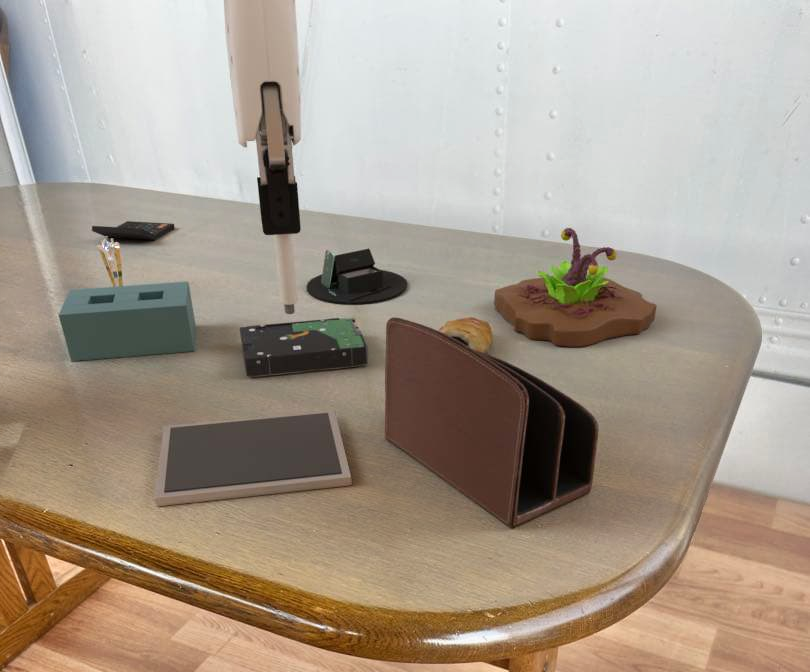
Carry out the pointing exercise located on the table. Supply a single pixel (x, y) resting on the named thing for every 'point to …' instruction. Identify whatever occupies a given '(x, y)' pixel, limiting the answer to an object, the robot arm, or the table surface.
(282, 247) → the stylus
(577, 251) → the plant
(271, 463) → the tablet
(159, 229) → the calculator
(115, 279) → the ring
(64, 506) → the table surface
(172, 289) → the dock
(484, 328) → the pastry
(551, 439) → the letter holder
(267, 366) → the disk drive
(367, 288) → the round circuit board stand
